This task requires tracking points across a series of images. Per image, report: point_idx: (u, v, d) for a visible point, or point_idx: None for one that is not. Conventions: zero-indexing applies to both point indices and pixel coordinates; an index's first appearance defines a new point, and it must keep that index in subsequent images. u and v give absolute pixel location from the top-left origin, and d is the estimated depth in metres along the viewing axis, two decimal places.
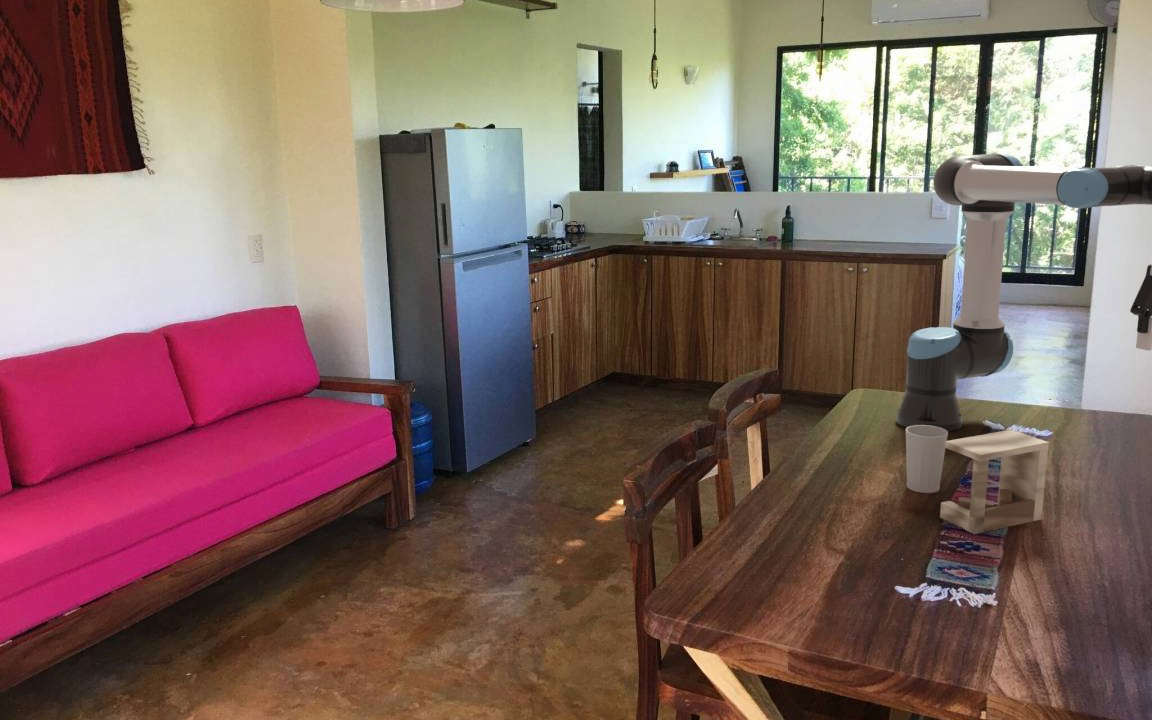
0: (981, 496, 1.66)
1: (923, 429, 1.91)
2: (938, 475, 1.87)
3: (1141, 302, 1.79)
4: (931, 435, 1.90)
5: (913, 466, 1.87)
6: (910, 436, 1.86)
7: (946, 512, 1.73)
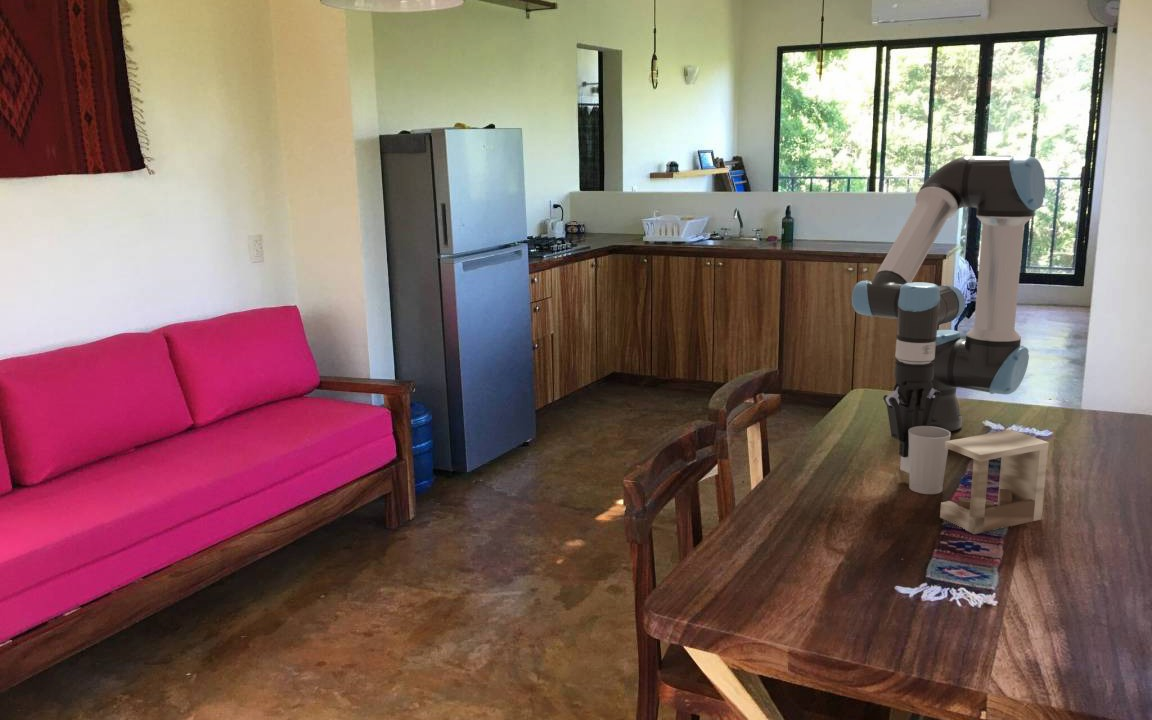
0: (981, 496, 1.66)
1: (926, 430, 1.90)
2: (941, 476, 1.86)
3: (895, 431, 1.89)
4: (934, 436, 1.89)
5: (916, 467, 1.86)
6: (913, 437, 1.85)
7: (946, 512, 1.73)
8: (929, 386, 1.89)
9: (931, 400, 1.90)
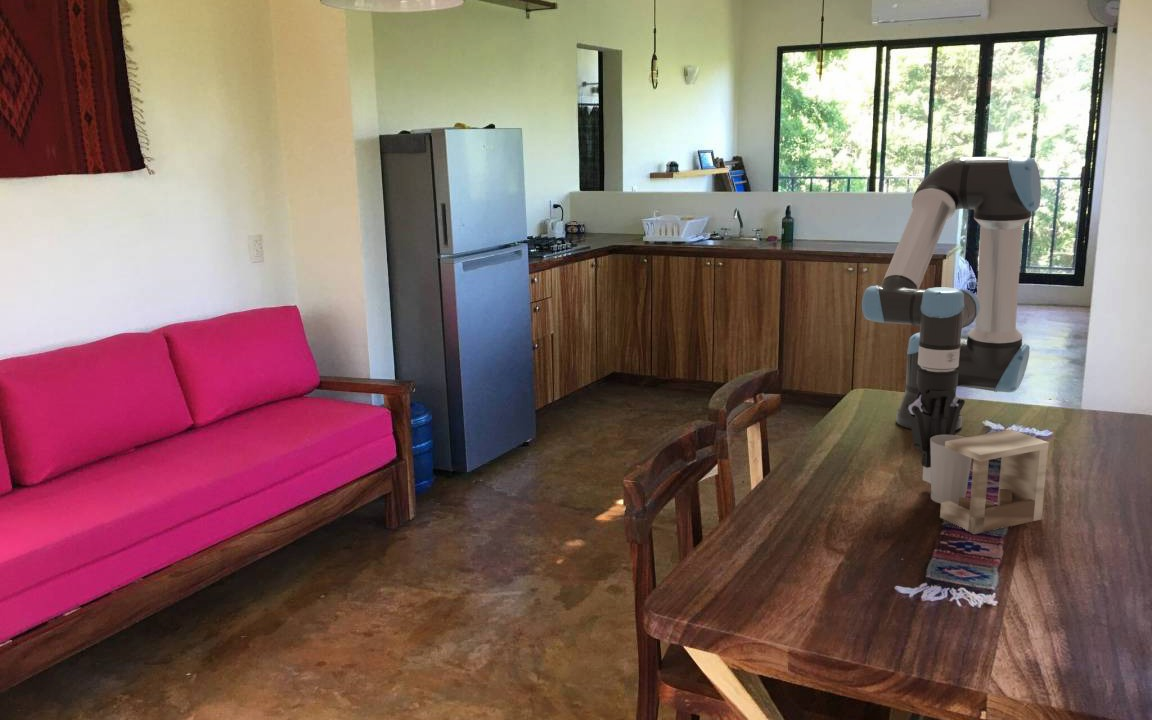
0: (981, 496, 1.66)
1: (950, 439, 1.84)
2: (963, 487, 1.80)
3: (918, 441, 1.84)
4: None
5: (936, 477, 1.81)
6: (933, 446, 1.80)
7: (946, 512, 1.73)
8: (952, 394, 1.84)
9: (955, 409, 1.85)
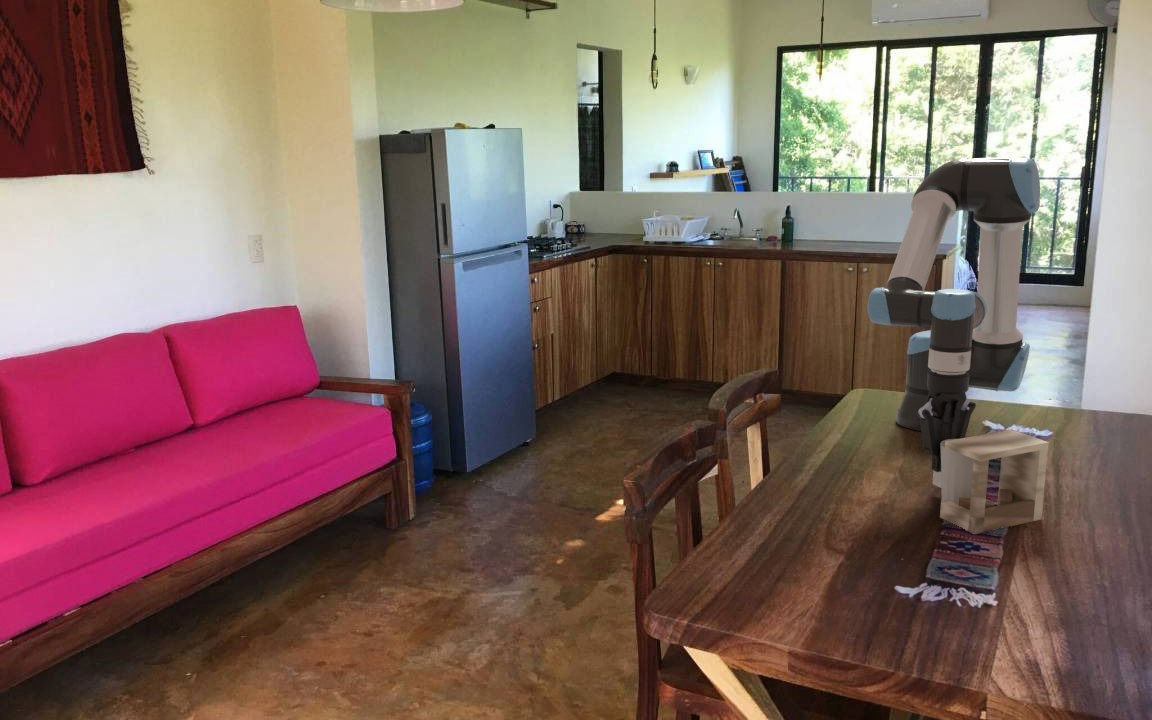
0: (981, 496, 1.66)
1: None
2: None
3: (928, 444, 1.81)
4: None
5: (947, 482, 1.78)
6: (944, 450, 1.77)
7: (946, 512, 1.73)
8: (963, 397, 1.81)
9: (966, 412, 1.82)
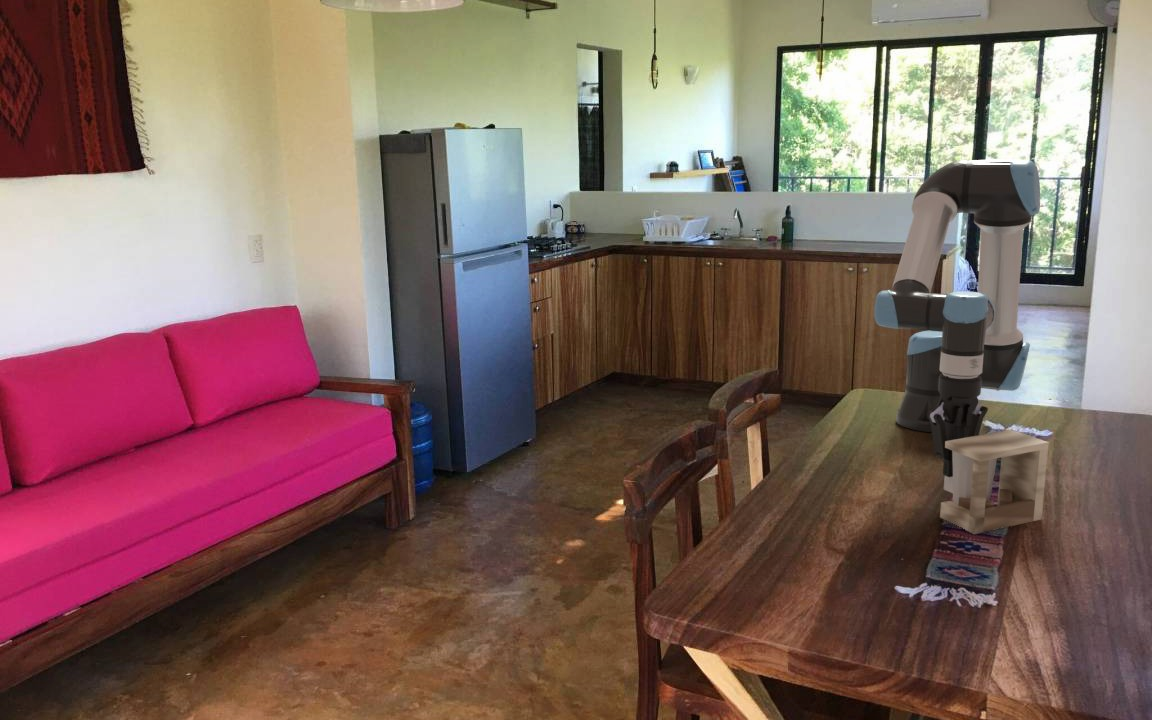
0: (981, 496, 1.66)
1: None
2: (986, 498, 1.74)
3: (939, 449, 1.78)
4: None
5: (958, 487, 1.75)
6: (956, 455, 1.75)
7: (946, 512, 1.73)
8: (975, 401, 1.78)
9: (977, 416, 1.79)
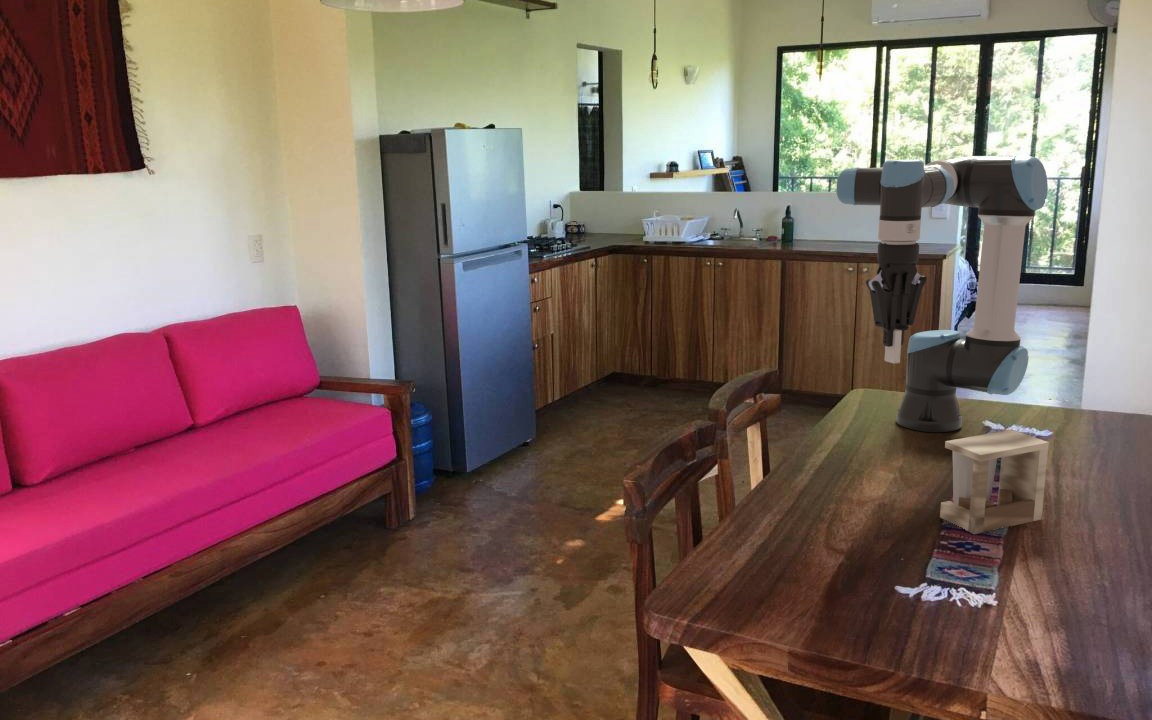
0: (981, 496, 1.66)
1: None
2: (986, 498, 1.74)
3: (879, 318, 1.80)
4: None
5: (959, 487, 1.75)
6: (956, 455, 1.75)
7: (946, 512, 1.73)
8: (914, 270, 1.80)
9: (916, 286, 1.81)
